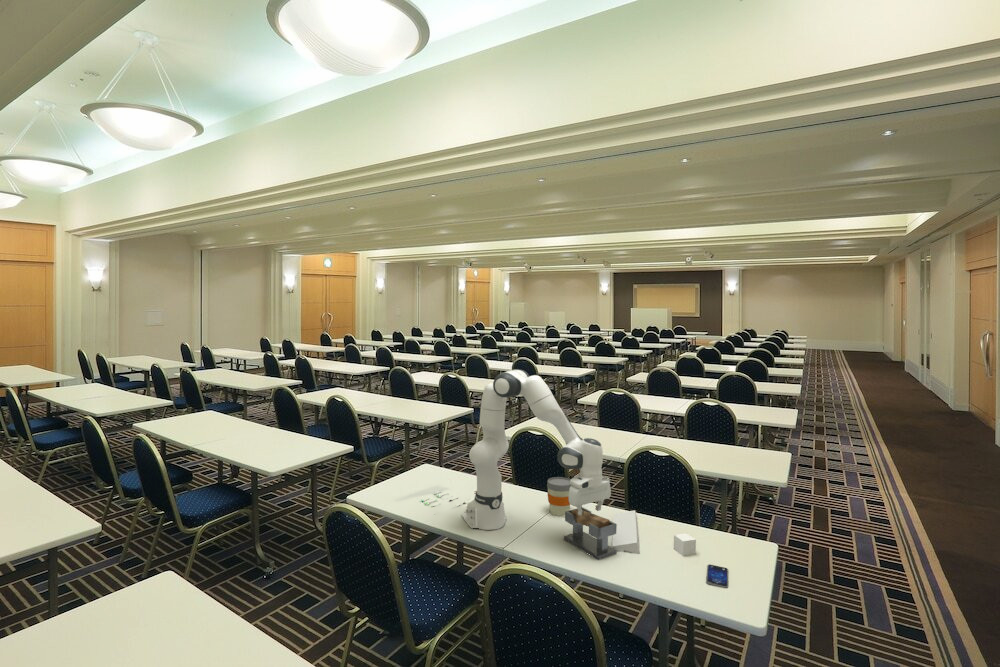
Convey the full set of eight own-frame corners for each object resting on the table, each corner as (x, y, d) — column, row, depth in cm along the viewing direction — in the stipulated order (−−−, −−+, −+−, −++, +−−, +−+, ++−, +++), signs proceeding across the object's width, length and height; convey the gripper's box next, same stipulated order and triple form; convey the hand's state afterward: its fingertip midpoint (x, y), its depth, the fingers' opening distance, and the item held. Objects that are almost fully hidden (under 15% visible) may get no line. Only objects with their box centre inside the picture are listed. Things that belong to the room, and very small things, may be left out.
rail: (571, 520, 214) (571, 510, 214) (577, 517, 217) (577, 508, 216) (603, 532, 202) (603, 522, 202) (609, 529, 205) (609, 519, 205)
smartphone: (728, 568, 193) (728, 587, 179) (728, 570, 193) (728, 590, 179) (707, 563, 196) (705, 582, 182) (707, 565, 196) (705, 585, 182)
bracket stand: (563, 539, 216) (564, 511, 215) (581, 534, 221) (582, 506, 221) (598, 560, 199) (598, 529, 198) (616, 553, 204) (617, 524, 203)
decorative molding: (615, 557, 207) (640, 554, 204) (612, 546, 207) (637, 542, 204) (616, 523, 240) (637, 520, 237) (613, 513, 240) (635, 510, 238)
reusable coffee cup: (559, 505, 254) (560, 475, 253) (578, 513, 244) (579, 482, 243) (541, 510, 246) (541, 480, 245) (559, 519, 236) (560, 487, 235)
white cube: (685, 547, 210) (686, 533, 210) (695, 554, 205) (696, 539, 204) (673, 549, 209) (673, 534, 208) (682, 556, 203) (683, 541, 203)
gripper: (604, 472, 217) (602, 505, 218) (566, 480, 206) (565, 514, 207) (614, 477, 212) (613, 510, 212) (577, 485, 201) (575, 520, 201)
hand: (589, 512), depth 209 cm, fingers open, 8 cm apart
